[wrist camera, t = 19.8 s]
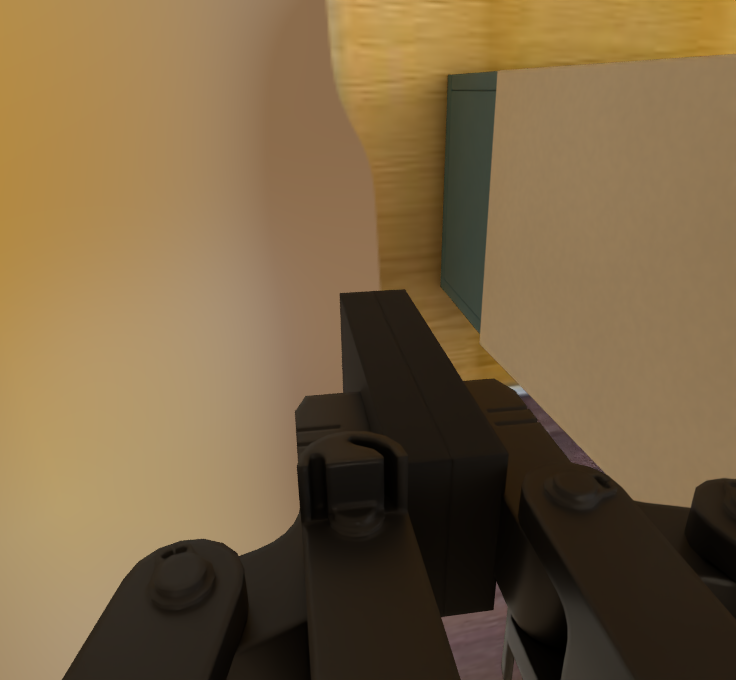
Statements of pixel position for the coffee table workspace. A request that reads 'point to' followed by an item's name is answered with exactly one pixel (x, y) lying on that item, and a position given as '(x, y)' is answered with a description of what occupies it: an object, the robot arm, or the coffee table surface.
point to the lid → (620, 262)
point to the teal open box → (467, 189)
